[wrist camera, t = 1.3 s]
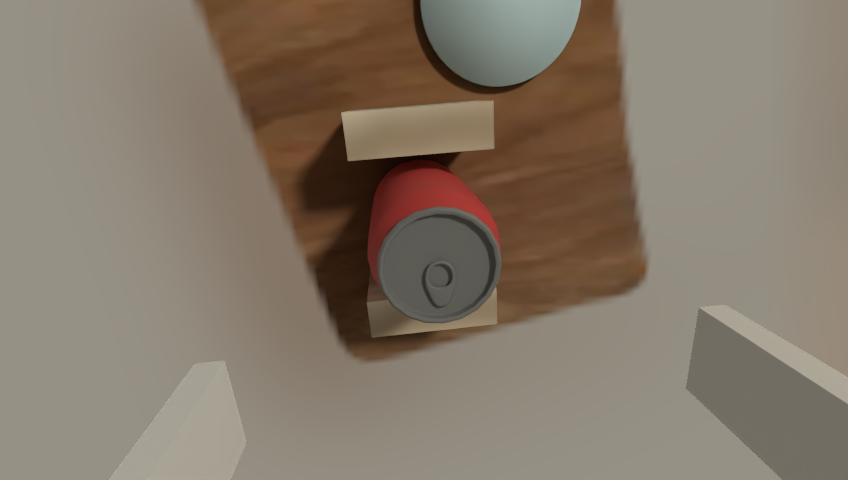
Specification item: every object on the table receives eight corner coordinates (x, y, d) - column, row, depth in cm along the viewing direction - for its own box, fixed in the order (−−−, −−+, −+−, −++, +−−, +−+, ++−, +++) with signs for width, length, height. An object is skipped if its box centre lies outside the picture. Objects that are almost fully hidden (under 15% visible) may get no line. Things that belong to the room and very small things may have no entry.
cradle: (351, 110, 27) (341, 112, 21) (471, 100, 27) (493, 100, 22) (374, 294, 31) (371, 337, 25) (477, 284, 32) (497, 323, 26)
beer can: (378, 251, 30) (372, 341, 19) (368, 161, 28) (355, 202, 17) (466, 243, 30) (513, 326, 19) (463, 154, 28) (514, 189, 17)
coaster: (413, -92, 23) (414, -97, 23) (581, -101, 24) (586, -105, 23) (425, 92, 27) (426, 92, 26) (573, 81, 27) (577, 80, 27)
